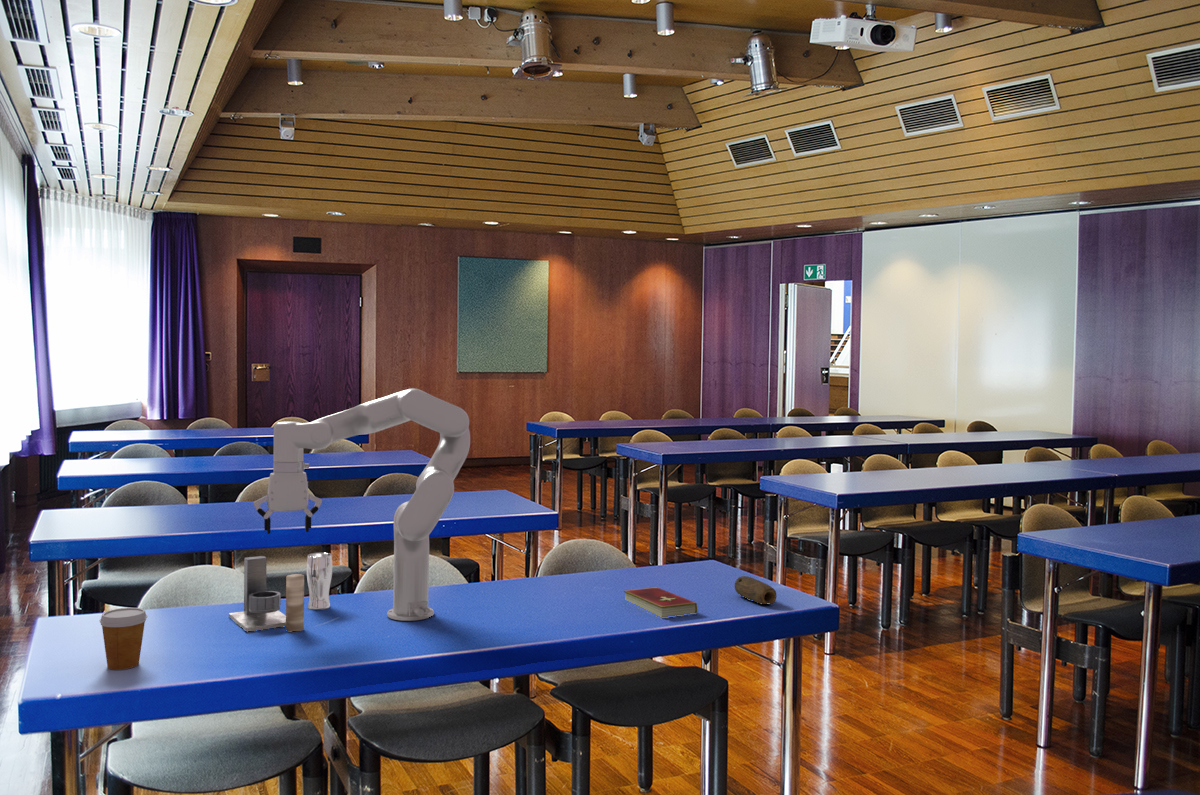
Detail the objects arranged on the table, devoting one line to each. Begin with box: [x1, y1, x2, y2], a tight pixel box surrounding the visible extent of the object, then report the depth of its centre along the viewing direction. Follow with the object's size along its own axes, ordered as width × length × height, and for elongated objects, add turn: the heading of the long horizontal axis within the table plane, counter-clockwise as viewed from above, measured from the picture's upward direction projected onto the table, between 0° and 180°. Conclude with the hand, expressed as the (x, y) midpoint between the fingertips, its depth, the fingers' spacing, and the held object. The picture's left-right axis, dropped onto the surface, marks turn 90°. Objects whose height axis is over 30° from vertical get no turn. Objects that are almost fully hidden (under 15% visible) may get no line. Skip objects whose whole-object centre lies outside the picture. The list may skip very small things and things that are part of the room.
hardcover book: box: [623, 586, 698, 617], centre depth 264 cm, size 12×21×4 cm, turn 29°
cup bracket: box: [228, 555, 286, 633], centre depth 241 cm, size 17×12×16 cm
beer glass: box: [306, 552, 333, 611], centre depth 257 cm, size 7×7×15 cm
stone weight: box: [734, 575, 777, 605], centre depth 274 cm, size 15×7×7 cm, turn 30°
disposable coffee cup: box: [99, 607, 148, 671], centre depth 204 cm, size 10×10×12 cm
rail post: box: [285, 573, 305, 632], centre depth 234 cm, size 4×4×14 cm
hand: (287, 532), depth 240 cm, fingers open, 9 cm apart
